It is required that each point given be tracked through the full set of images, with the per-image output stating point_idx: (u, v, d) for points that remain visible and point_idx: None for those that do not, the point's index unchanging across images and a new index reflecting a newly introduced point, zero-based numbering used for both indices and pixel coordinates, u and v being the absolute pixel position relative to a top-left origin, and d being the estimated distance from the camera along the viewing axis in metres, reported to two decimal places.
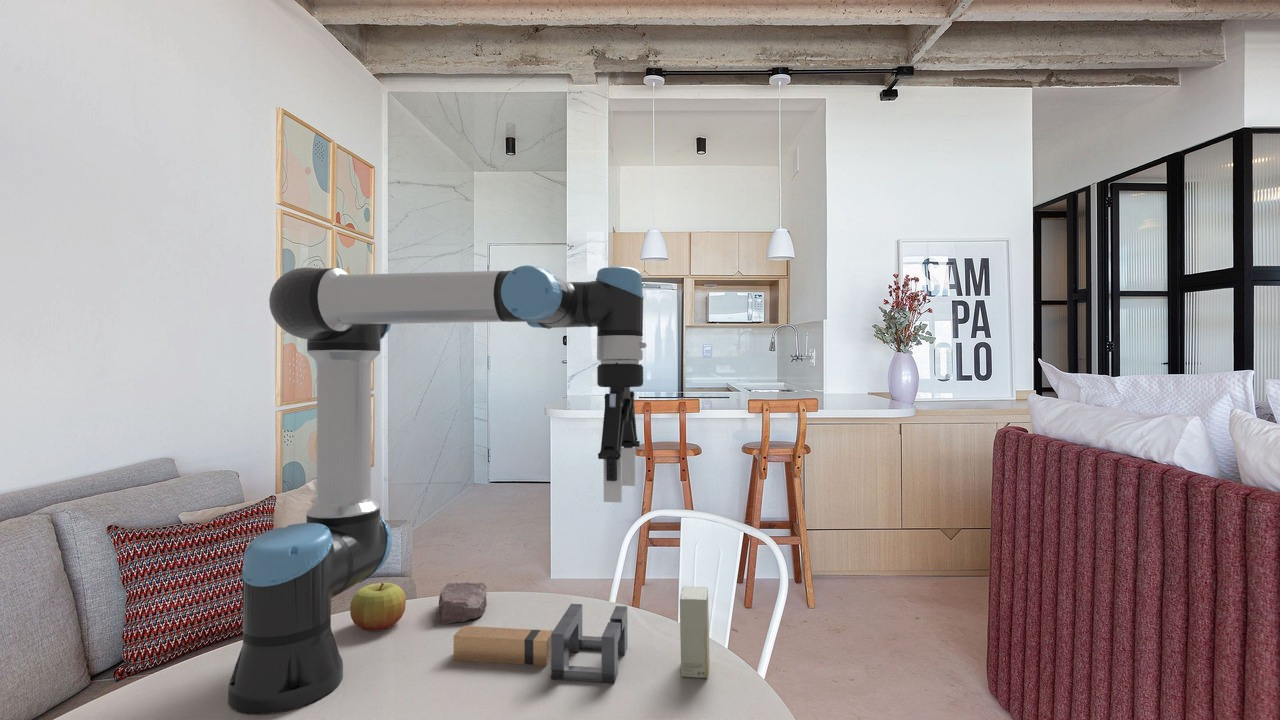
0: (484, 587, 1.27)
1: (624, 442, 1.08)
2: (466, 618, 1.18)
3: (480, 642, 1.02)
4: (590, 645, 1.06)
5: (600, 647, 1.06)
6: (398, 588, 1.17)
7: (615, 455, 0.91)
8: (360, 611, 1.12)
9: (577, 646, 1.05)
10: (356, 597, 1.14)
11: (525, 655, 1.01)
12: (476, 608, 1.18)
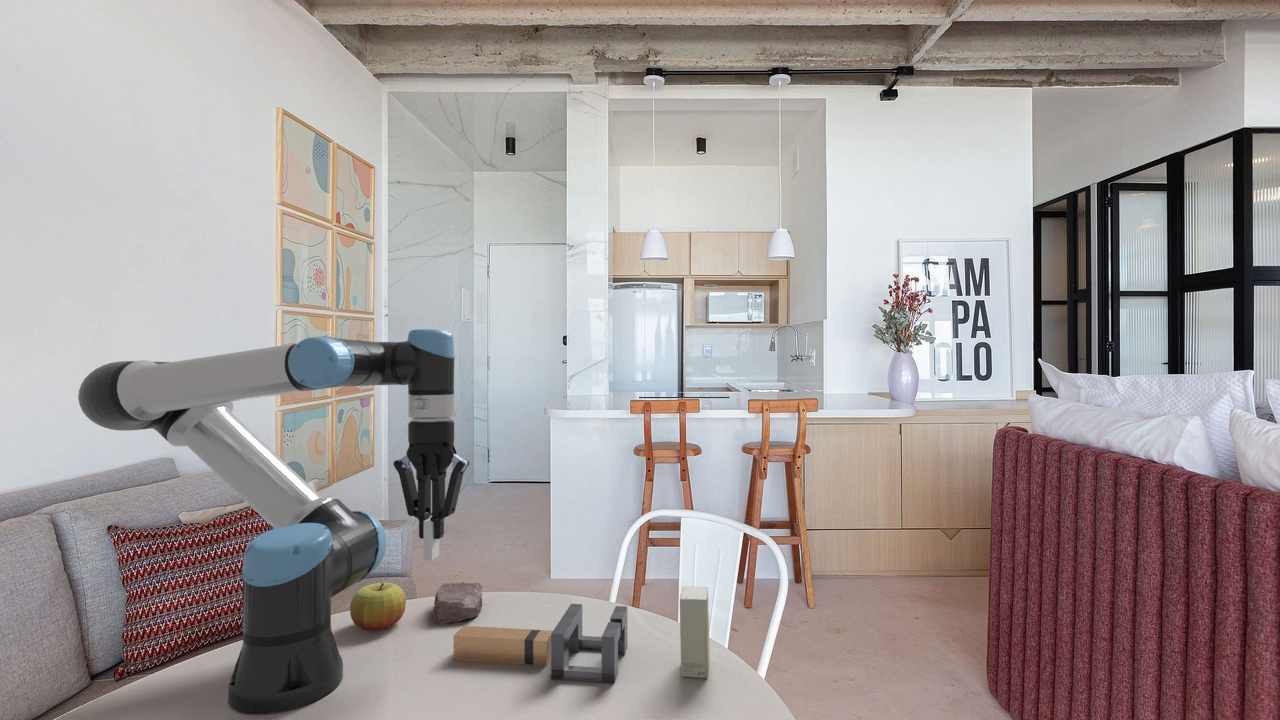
0: (480, 587, 1.27)
1: None
2: (462, 618, 1.18)
3: (480, 642, 1.02)
4: (590, 645, 1.06)
5: (600, 647, 1.06)
6: (398, 588, 1.17)
7: (411, 515, 1.05)
8: (360, 611, 1.12)
9: (577, 646, 1.05)
10: (356, 597, 1.14)
11: (525, 655, 1.01)
12: (472, 608, 1.18)
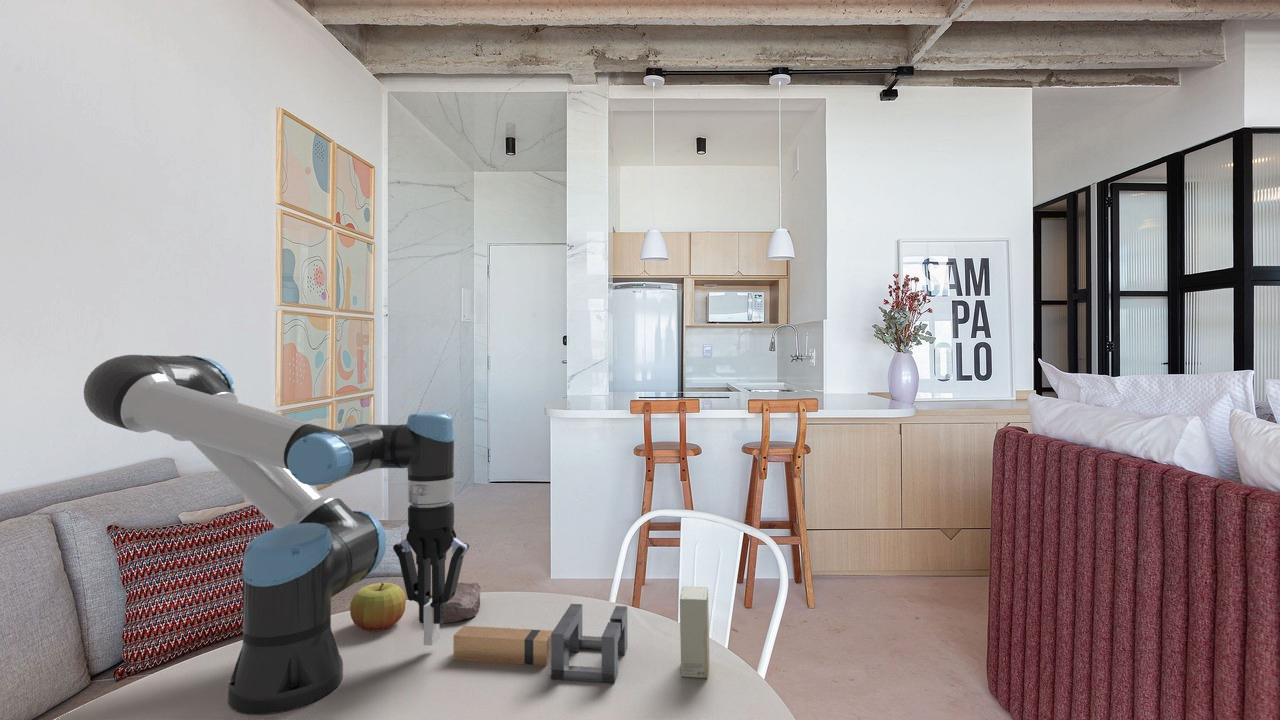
0: (478, 587, 1.27)
1: None
2: (459, 618, 1.18)
3: (480, 642, 1.02)
4: (590, 645, 1.06)
5: (600, 647, 1.06)
6: (398, 588, 1.17)
7: None
8: (360, 611, 1.12)
9: (577, 646, 1.05)
10: (356, 597, 1.14)
11: (525, 655, 1.01)
12: (469, 608, 1.18)
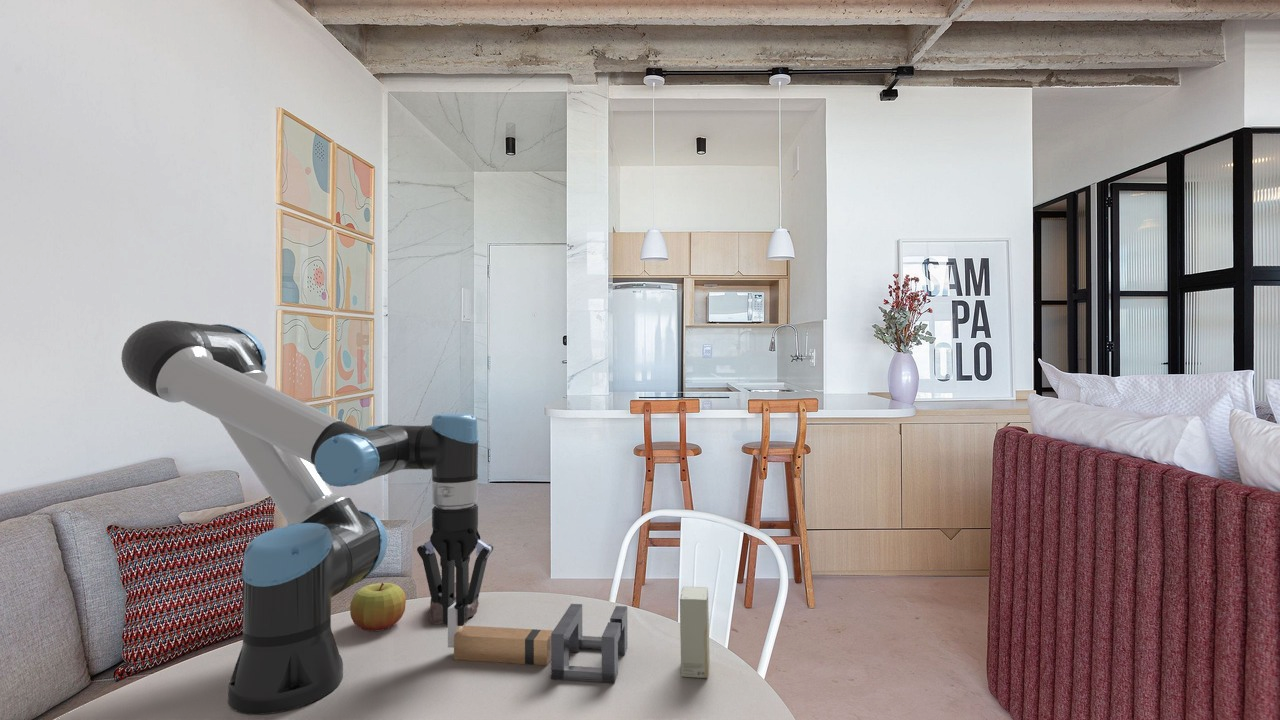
0: None
1: None
2: None
3: (480, 642, 1.02)
4: (590, 645, 1.06)
5: (600, 647, 1.06)
6: (398, 588, 1.17)
7: None
8: (360, 611, 1.12)
9: (577, 646, 1.05)
10: (356, 597, 1.14)
11: (525, 654, 1.01)
12: (467, 608, 1.18)
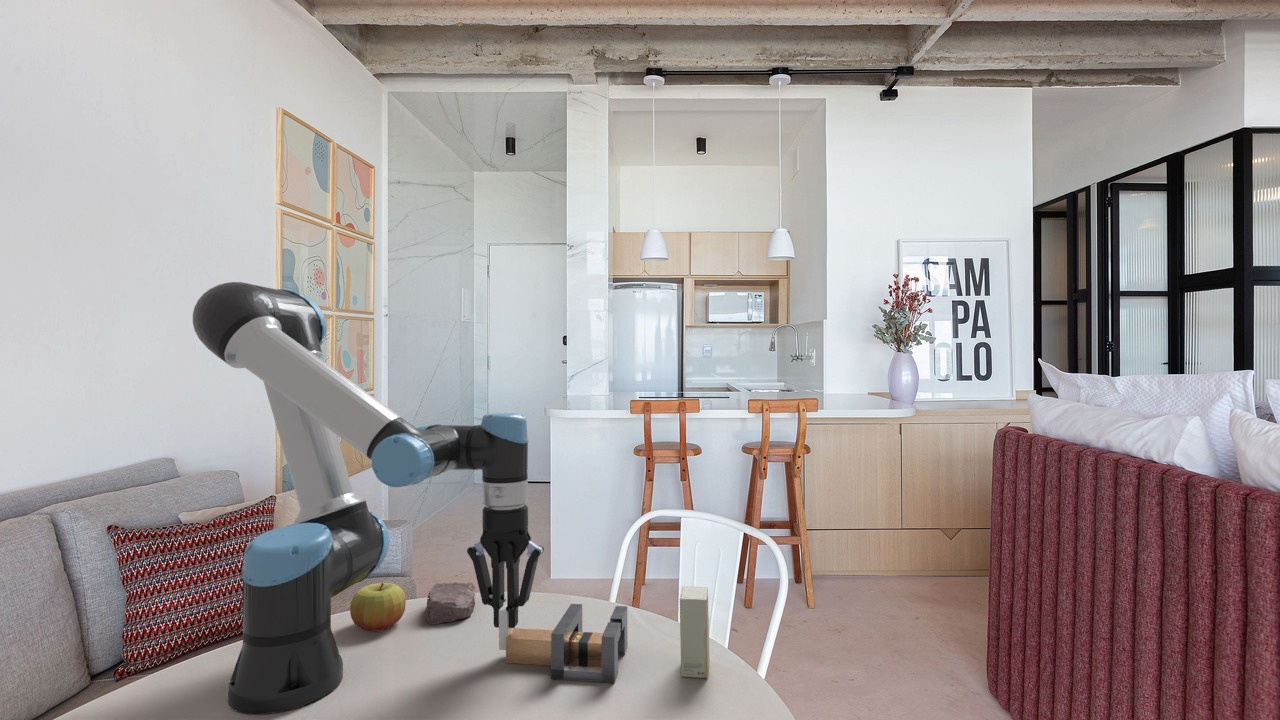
0: (472, 587, 1.27)
1: None
2: (454, 618, 1.18)
3: (533, 645, 1.01)
4: None
5: None
6: (398, 588, 1.17)
7: None
8: (360, 611, 1.12)
9: None
10: (356, 597, 1.14)
11: (579, 658, 1.00)
12: (465, 608, 1.18)
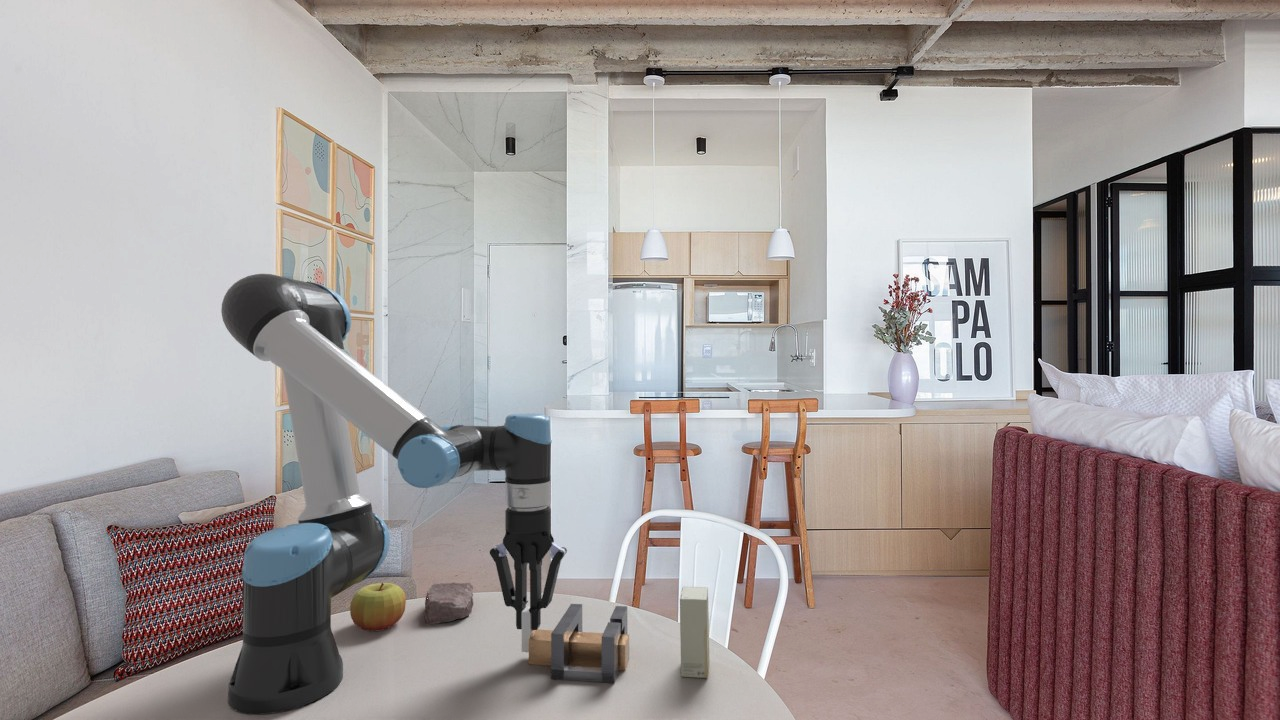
0: (470, 587, 1.27)
1: None
2: (453, 618, 1.18)
3: None
4: None
5: None
6: (398, 588, 1.17)
7: (508, 605, 1.02)
8: (360, 611, 1.12)
9: None
10: (356, 597, 1.14)
11: None
12: (463, 608, 1.18)
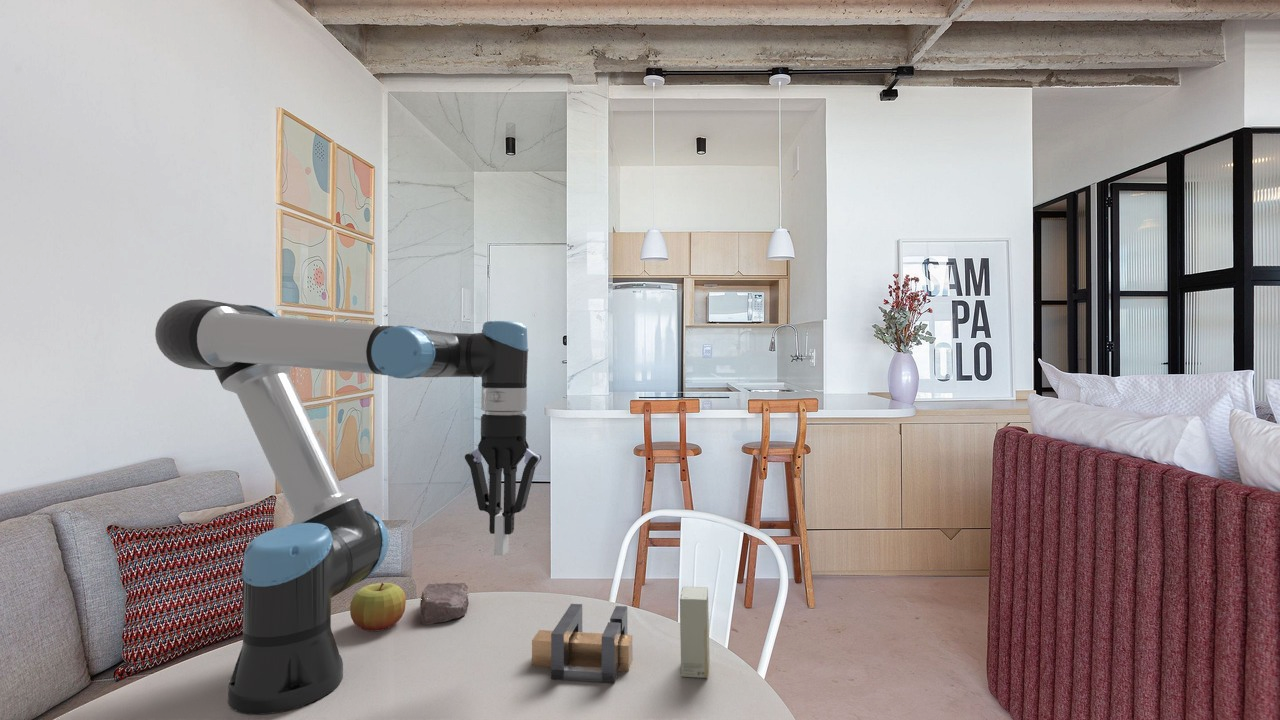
0: (465, 587, 1.27)
1: None
2: (449, 618, 1.18)
3: None
4: None
5: None
6: (398, 588, 1.17)
7: None
8: (360, 611, 1.12)
9: None
10: (356, 597, 1.14)
11: None
12: (459, 608, 1.18)
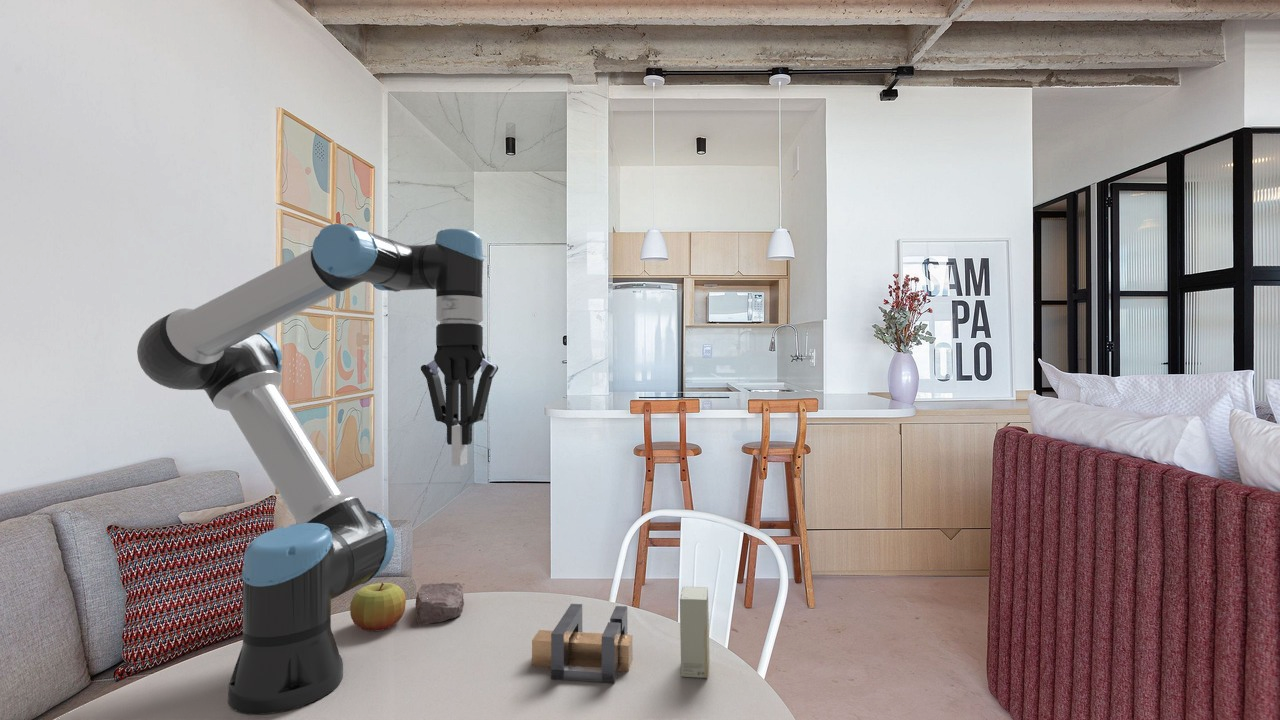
0: (460, 587, 1.27)
1: None
2: (445, 618, 1.18)
3: None
4: None
5: None
6: (398, 588, 1.17)
7: (438, 421, 1.03)
8: (360, 611, 1.12)
9: None
10: (356, 597, 1.14)
11: None
12: (455, 608, 1.18)
